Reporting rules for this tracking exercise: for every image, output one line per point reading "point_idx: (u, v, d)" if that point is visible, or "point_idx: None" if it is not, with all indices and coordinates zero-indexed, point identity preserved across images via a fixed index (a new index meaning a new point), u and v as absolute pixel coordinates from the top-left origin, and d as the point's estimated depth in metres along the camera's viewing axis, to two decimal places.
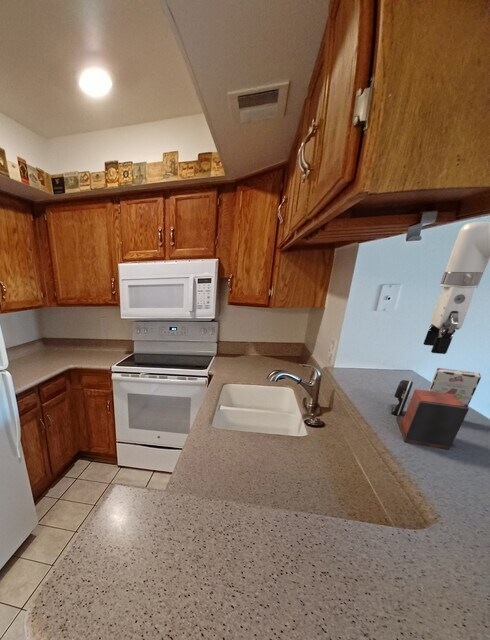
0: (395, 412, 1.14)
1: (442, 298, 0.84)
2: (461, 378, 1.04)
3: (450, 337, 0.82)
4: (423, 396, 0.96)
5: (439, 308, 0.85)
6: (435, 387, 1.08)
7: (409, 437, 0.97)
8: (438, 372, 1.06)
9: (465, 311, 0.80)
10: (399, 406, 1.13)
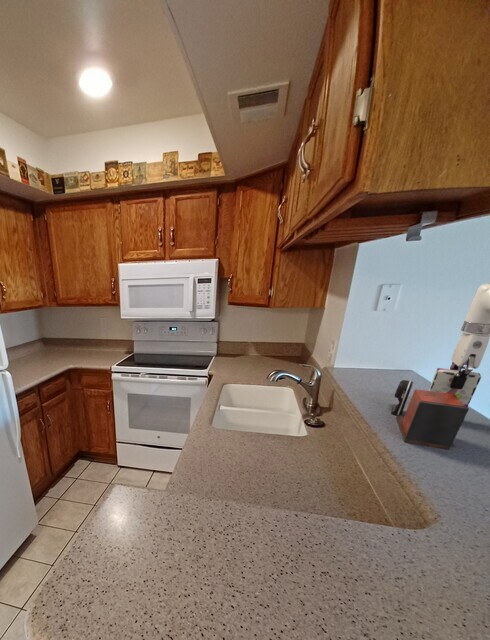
0: (395, 412, 1.14)
1: (462, 342, 1.01)
2: None
3: (465, 377, 1.02)
4: (423, 396, 0.96)
5: (459, 350, 1.02)
6: (435, 387, 1.08)
7: (409, 437, 0.97)
8: (438, 372, 1.06)
9: (482, 354, 0.97)
10: (399, 406, 1.13)
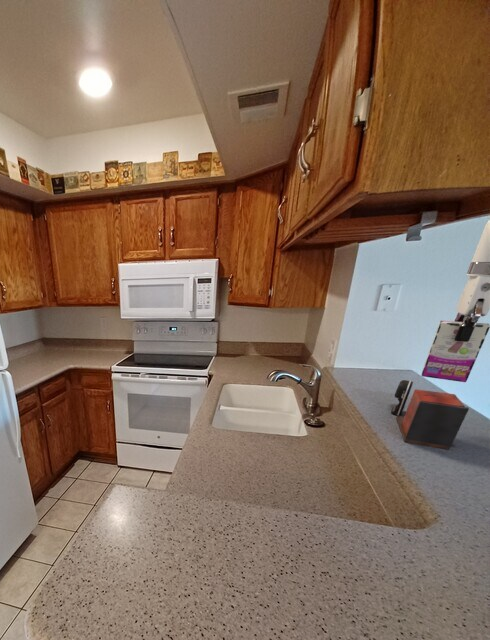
0: (395, 412, 1.14)
1: (469, 287, 0.90)
2: None
3: (472, 326, 0.90)
4: (423, 396, 0.96)
5: (465, 296, 0.90)
6: (438, 341, 0.97)
7: (409, 437, 0.97)
8: (441, 324, 0.95)
9: None
10: (399, 406, 1.13)
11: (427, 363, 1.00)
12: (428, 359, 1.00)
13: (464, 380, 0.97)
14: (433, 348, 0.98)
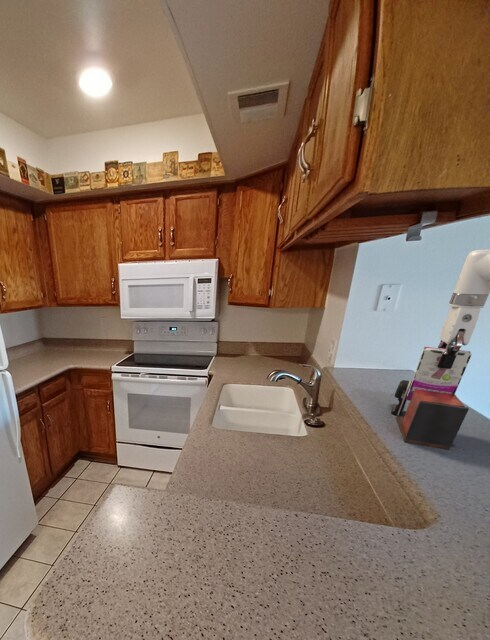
0: (395, 412, 1.14)
1: (451, 316, 0.92)
2: None
3: (454, 355, 0.93)
4: (423, 396, 0.96)
5: (448, 325, 0.93)
6: (422, 367, 0.99)
7: (409, 437, 0.97)
8: (425, 351, 0.97)
9: (472, 329, 0.88)
10: (399, 406, 1.13)
11: (412, 388, 1.03)
12: (412, 384, 1.02)
13: None
14: (417, 373, 1.00)
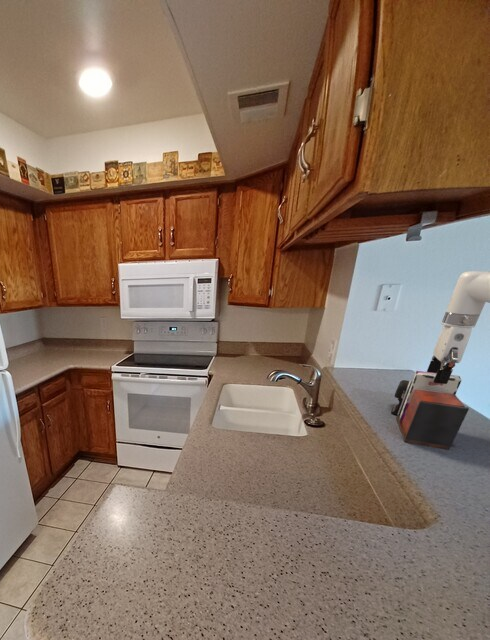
0: (395, 412, 1.14)
1: (443, 335, 0.94)
2: None
3: (450, 370, 0.93)
4: (423, 396, 0.96)
5: (441, 343, 0.95)
6: None
7: (409, 437, 0.97)
8: (417, 375, 1.00)
9: (464, 348, 0.90)
10: (399, 406, 1.13)
11: (405, 410, 1.06)
12: (405, 406, 1.05)
13: None
14: (410, 396, 1.04)
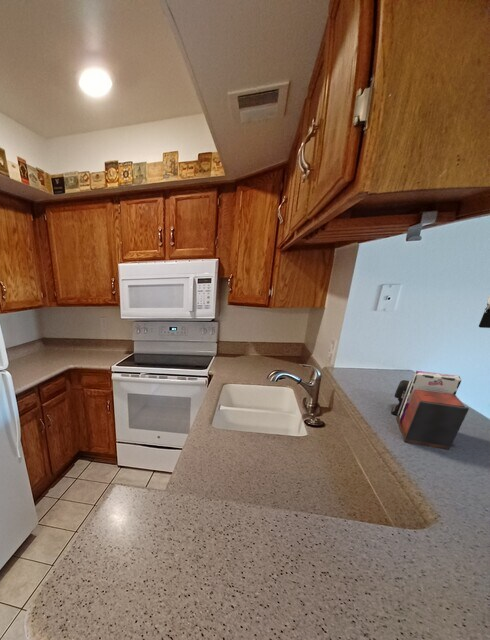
0: (395, 412, 1.14)
1: None
2: (441, 382, 0.98)
3: None
4: (423, 396, 0.96)
5: None
6: None
7: (409, 437, 0.97)
8: (417, 375, 1.00)
9: None
10: (399, 406, 1.13)
11: (405, 410, 1.06)
12: (405, 406, 1.05)
13: None
14: (410, 396, 1.04)
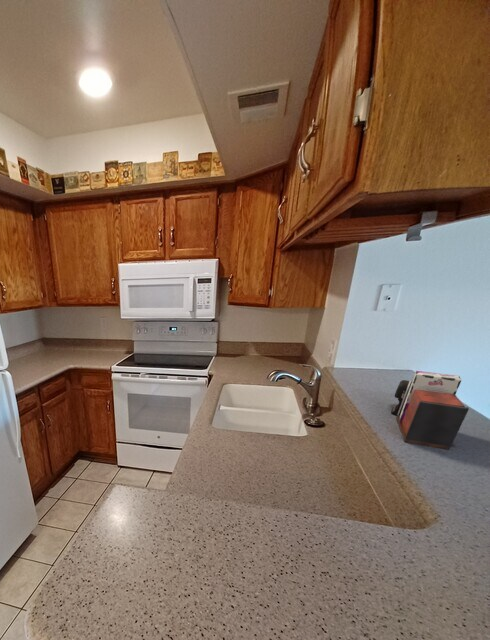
0: (395, 412, 1.14)
1: None
2: (441, 382, 0.98)
3: None
4: (423, 396, 0.96)
5: None
6: None
7: (409, 437, 0.97)
8: (417, 375, 1.00)
9: None
10: (399, 406, 1.13)
11: (405, 410, 1.06)
12: (405, 406, 1.05)
13: None
14: (410, 396, 1.04)
